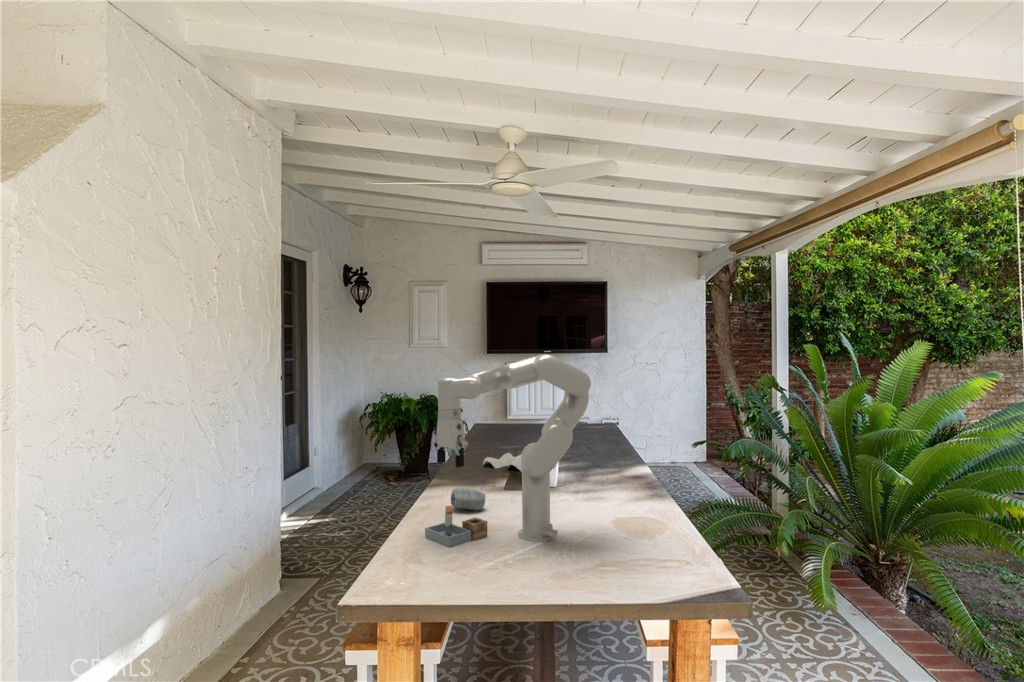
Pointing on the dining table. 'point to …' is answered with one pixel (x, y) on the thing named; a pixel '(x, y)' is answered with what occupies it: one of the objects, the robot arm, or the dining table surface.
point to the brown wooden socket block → (476, 527)
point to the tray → (457, 536)
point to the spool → (468, 498)
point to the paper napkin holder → (505, 461)
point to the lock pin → (448, 520)
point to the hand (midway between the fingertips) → (450, 464)
